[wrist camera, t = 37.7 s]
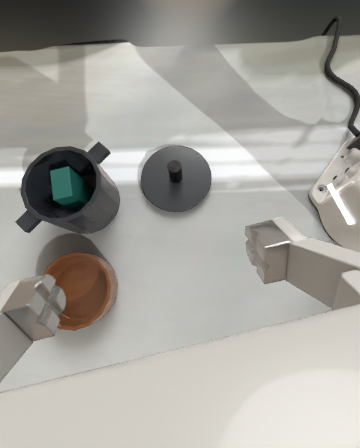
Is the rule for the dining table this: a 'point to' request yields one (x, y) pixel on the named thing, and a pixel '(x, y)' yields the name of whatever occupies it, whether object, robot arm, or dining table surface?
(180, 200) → the lid
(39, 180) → the pot
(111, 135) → the dining table surface
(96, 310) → the bowl
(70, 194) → the block
